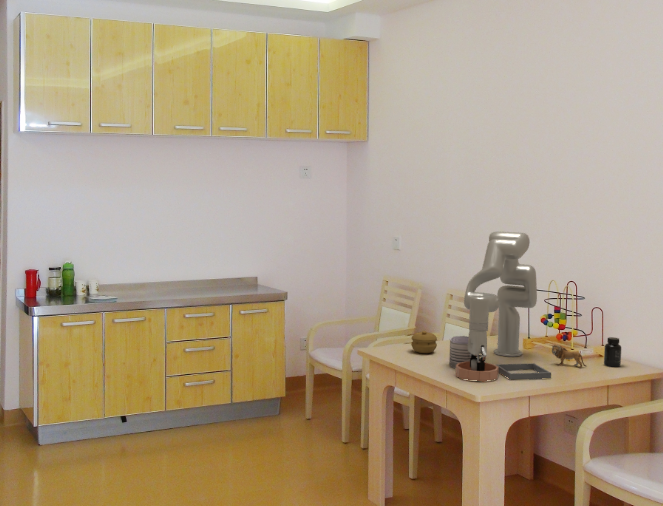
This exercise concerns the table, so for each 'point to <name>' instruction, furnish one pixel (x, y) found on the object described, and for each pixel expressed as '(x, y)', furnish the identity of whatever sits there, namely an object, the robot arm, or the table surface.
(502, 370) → the tray
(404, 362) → the table surface
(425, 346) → the pot
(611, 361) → the supplement bottle
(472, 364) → the grey cylinder
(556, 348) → the lion figurine
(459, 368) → the bowl
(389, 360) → the table surface
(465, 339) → the can
